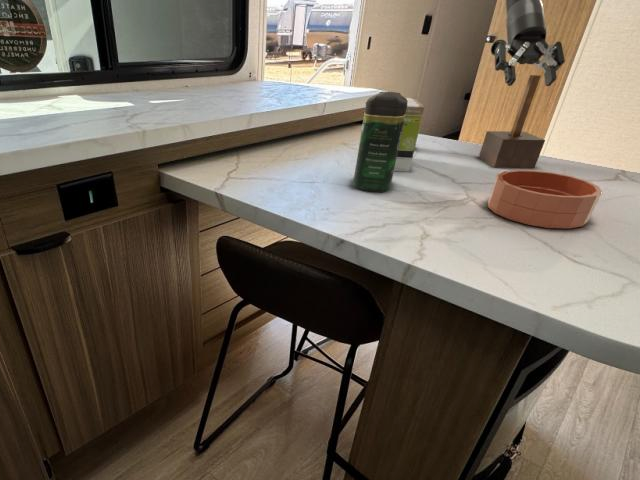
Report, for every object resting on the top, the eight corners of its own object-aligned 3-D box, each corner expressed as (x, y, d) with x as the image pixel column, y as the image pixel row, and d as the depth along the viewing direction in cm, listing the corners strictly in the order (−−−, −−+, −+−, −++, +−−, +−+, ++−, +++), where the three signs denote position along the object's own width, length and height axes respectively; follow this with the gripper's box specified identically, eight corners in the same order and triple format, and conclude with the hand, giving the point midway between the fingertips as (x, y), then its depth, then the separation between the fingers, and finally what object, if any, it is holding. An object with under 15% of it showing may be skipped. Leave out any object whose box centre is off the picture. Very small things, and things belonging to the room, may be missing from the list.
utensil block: (515, 159, 109) (525, 131, 105) (533, 170, 101) (545, 140, 97) (477, 159, 109) (486, 131, 106) (493, 169, 101) (503, 139, 98)
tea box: (410, 173, 98) (426, 105, 90) (367, 171, 100) (378, 104, 92) (402, 157, 111) (415, 96, 103) (364, 155, 112) (374, 95, 104)
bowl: (554, 201, 83) (567, 171, 79) (606, 233, 70) (624, 198, 66) (473, 199, 84) (483, 169, 80) (509, 230, 71) (522, 196, 67)
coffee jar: (388, 196, 85) (409, 96, 75) (349, 191, 88) (364, 94, 77) (392, 182, 93) (411, 90, 82) (356, 178, 95) (370, 88, 85)
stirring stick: (506, 163, 106) (537, 74, 95) (509, 165, 104) (541, 75, 93) (500, 163, 106) (530, 74, 95) (502, 165, 104) (533, 75, 93)
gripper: (503, 11, 96) (508, 71, 93) (567, 10, 95) (575, 71, 92) (486, 37, 103) (490, 94, 100) (546, 37, 102) (552, 95, 99)
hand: (531, 83), depth 96 cm, fingers open, 8 cm apart
